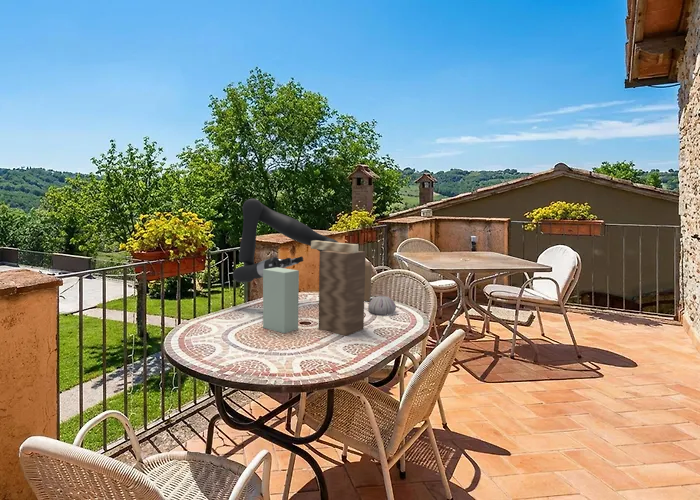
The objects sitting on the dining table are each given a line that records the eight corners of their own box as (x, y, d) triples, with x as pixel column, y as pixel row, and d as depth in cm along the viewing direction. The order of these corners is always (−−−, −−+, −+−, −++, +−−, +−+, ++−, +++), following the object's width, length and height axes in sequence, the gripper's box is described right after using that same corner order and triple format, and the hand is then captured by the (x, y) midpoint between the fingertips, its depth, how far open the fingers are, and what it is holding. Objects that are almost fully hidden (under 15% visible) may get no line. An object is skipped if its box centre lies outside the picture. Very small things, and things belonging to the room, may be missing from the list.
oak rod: (310, 248, 185) (310, 240, 185) (315, 247, 188) (315, 240, 187) (353, 253, 172) (353, 245, 172) (358, 252, 175) (358, 244, 174)
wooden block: (370, 298, 240) (371, 261, 238) (369, 302, 230) (370, 264, 228) (352, 297, 241) (353, 260, 239) (350, 301, 231) (351, 263, 229)
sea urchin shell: (401, 313, 209) (402, 296, 208) (382, 318, 200) (382, 300, 199) (381, 307, 219) (381, 292, 218) (361, 312, 210) (362, 295, 209)
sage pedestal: (263, 327, 180) (263, 269, 178) (277, 323, 187) (277, 267, 184) (284, 333, 173) (284, 272, 171) (298, 328, 180) (298, 270, 177)
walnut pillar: (318, 329, 180) (319, 251, 176) (336, 323, 190) (338, 248, 186) (346, 336, 172) (347, 254, 168) (363, 329, 181) (365, 251, 178)
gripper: (256, 260, 195) (284, 251, 186) (278, 258, 207) (304, 250, 198) (260, 277, 194) (287, 269, 185) (281, 273, 206) (308, 266, 198)
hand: (296, 259), depth 192 cm, fingers open, 8 cm apart
